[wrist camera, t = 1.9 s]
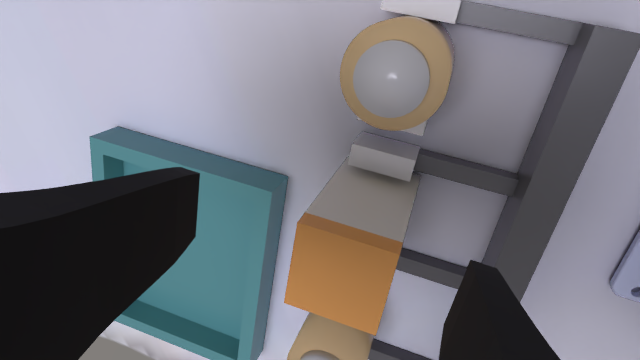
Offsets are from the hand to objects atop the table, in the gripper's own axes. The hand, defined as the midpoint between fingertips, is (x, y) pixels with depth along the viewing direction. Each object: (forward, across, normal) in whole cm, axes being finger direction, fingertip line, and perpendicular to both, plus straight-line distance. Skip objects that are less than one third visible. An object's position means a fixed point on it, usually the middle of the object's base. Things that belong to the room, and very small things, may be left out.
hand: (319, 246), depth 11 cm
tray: (+10, +10, +10) cm, 17 cm away
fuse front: (+10, 0, -4) cm, 11 cm away
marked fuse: (+10, 0, +3) cm, 11 cm away
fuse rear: (+10, 0, +10) cm, 15 cm away
